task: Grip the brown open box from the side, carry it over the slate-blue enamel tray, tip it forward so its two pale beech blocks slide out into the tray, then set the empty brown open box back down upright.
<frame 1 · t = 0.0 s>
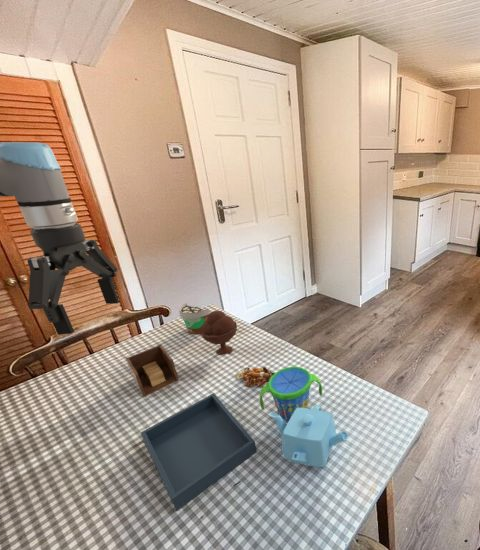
hand: (91, 316, 69), 28 cm above the table, tool pointing down, fingers open, 13 cm apart
food container: (195, 333, 115), on the table
snack cup: (293, 410, 80), on the table
ice cream bowl: (224, 352, 104), on the table
brown open box: (156, 380, 90), on the table, touching block a, block b
block a: (153, 375, 92), point 1 cm above the table, touching brown open box
tray: (199, 447, 70), on the table
pastry: (254, 379, 91), on the table
teapot: (309, 454, 68), on the table
block b: (157, 381, 89), point 1 cm above the table, touching brown open box
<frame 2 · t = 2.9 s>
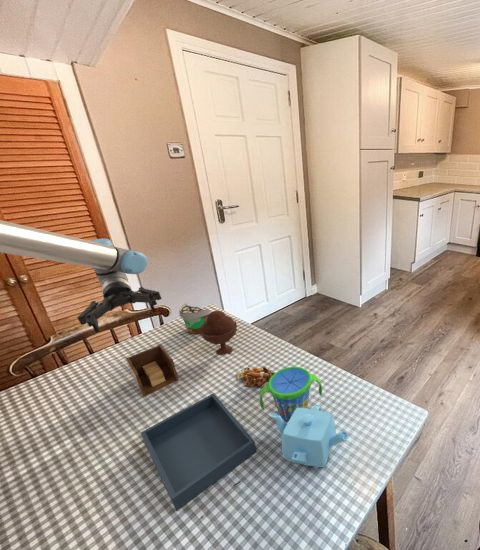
hand: (125, 317, 86), 20 cm above the table, tool horizontal, fingers open, 13 cm apart
nothing on the table moved.
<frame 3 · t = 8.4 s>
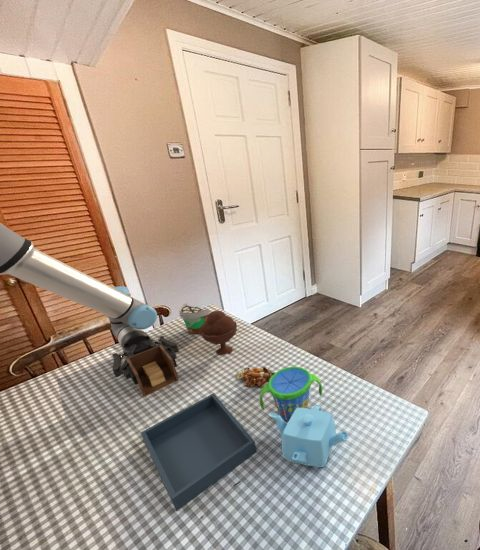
hand: (155, 371, 85), 6 cm above the table, tool horizontal, fingers closed on brown open box, 9 cm apart
brown open box: (156, 380, 90), on the table, touching block a, block b, gripper
everything else where it was.
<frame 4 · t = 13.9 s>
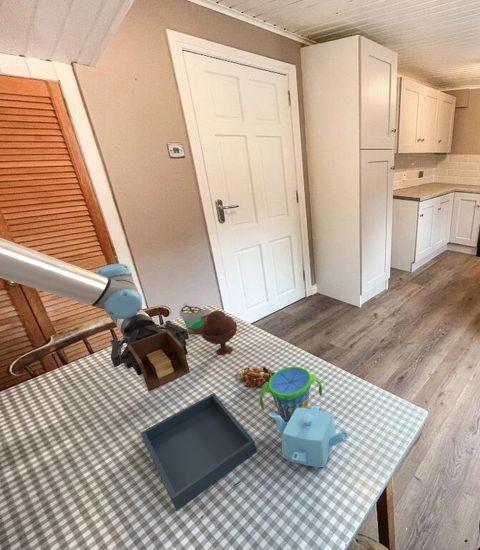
hand: (162, 359, 71), 18 cm above the table, tool horizontal, fingers closed on brown open box, 9 cm apart
brown open box: (163, 371, 76), point 12 cm above the table, touching block a, block b, gripper
block a: (159, 365, 78), point 13 cm above the table, touching brown open box
block b: (164, 372, 75), point 13 cm above the table, touching brown open box
everything else where it was.
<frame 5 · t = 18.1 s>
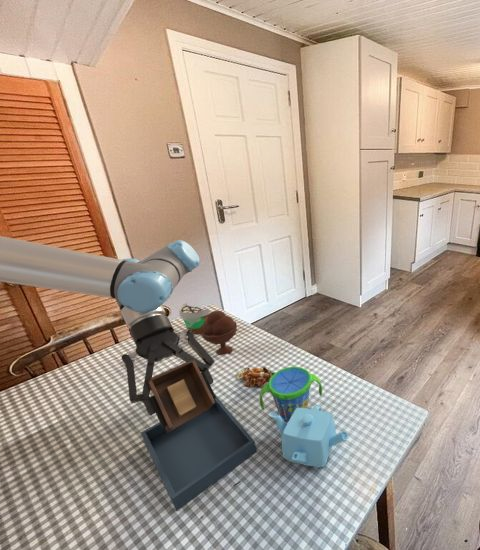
hand: (190, 412, 65), 12 cm above the table, tool tilted 45°, fingers closed on brown open box, 9 cm apart
brown open box: (179, 398, 70), point 11 cm above the table, tilted 45°, touching gripper
block a: (176, 391, 69), point 12 cm above the table, tilted 51°
block b: (183, 406, 69), point 10 cm above the table, tilted 46°
everything else where it was.
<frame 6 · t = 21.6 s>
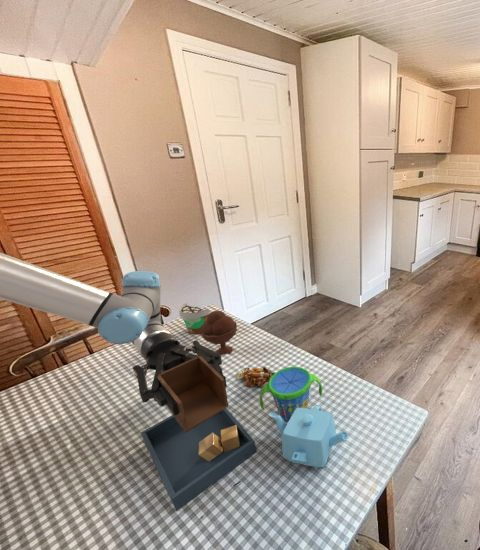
hand: (201, 395, 62), 17 cm above the table, tool horizontal, fingers closed on brown open box, 9 cm apart
brown open box: (196, 404, 67), point 11 cm above the table, tilted 6°, touching gripper
block a: (230, 444, 68), point 2 cm above the table, tilted 90°, touching block b, tray
block b: (217, 441, 67), point 4 cm above the table, tilted 115°, touching block a, tray
everything else where it was.
when the fingers open (6 cm above the table, at t = 30.8 s): brown open box stays where it is, on the table.
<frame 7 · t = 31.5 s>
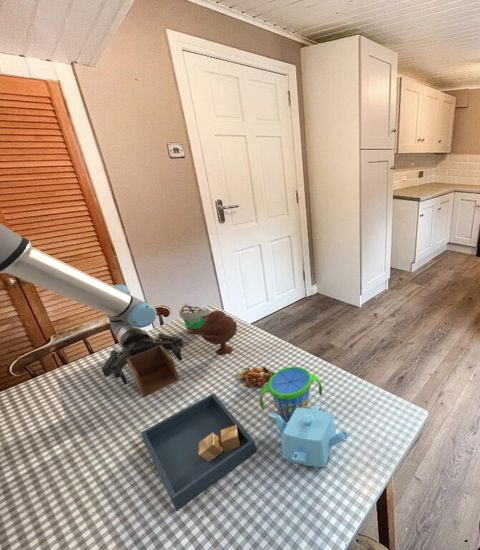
hand: (153, 367, 86), 7 cm above the table, tool horizontal, fingers open, 13 cm apart
brown open box: (156, 381, 90), on the table
everything else where it was.
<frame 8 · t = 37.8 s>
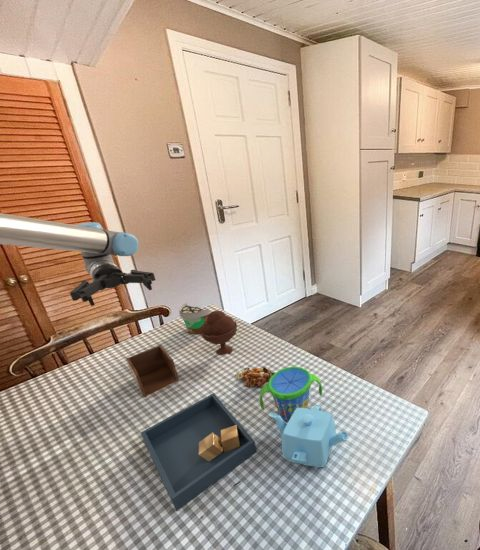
hand: (122, 293, 87), 26 cm above the table, tool horizontal, fingers open, 13 cm apart
nothing on the table moved.
at the end: block a inside the target area in the tray (8.0 cm from its centre), point 2.3 cm above the tray's base; block b inside the target area in the tray (5.7 cm from its centre), point 3.6 cm above the tray's base; brown open box tilted 0° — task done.
